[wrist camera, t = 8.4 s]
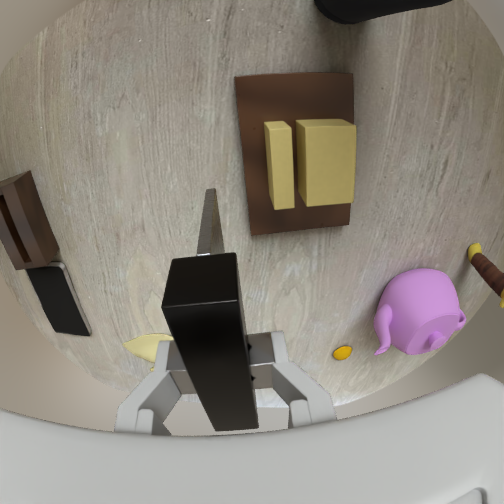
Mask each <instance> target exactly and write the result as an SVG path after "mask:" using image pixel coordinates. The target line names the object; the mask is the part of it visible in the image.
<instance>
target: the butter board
mask: <svg viewBox="0 0 504 504" xmlns="http://www.w3.org/2000/svg"><path fill="white" fill-rule="evenodd" d="M234 80H235V90H236V99H237V108H238V118H239V127H240V136H241V146H242V155H243V165H244V174H245V183H246V193H247V202H248V212H249V221H250V230H251V236H253V235H261V234H270V233H279V232H288V231H297V230H306V229H315V228H324V227H334V226H343V225H349V221H350V208H351V203H343V204H331V205H320V206H309V207H307V206H306V204H305V202H304V201H303V199H302V197H301V195H300V193H299V192H298V166H297V140H296V120H311V119H343V120H345V121H347V122H349V123H351V124H353V125H354V90H353V74H349V73H323V72H298V73H271V74H255V75H244V76H235V77H234ZM274 121H284V122H285V123H286V124H287V125H289V126H290V127H291V129H292V149H293V173H294V206H295V207H294V208H289V209H279V210H275V209H274V207H273V204H272V201H271V198H270V195H269V183H268V169H267V156H266V143H265V131H264V122H274Z"/></svg>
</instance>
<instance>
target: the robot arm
mask: <svg viewBox="0 0 504 504" xmlns="http://www.w3.org/2000/svg"><path fill="white" fill-rule="evenodd" d="M247 344H248V356H249V366H250V373H251V378H252V386H253V389H263V388H273V389H274V390H275V391H276V392H277V393H278V395H279V396H280V397H281V398H282V399H283V400H284V401H285V402H286V404H287V405H288V406H289V422H288V429H283V430H276V431H267V432H257V433H246V434H233V435H213V436H171V433H170V432H169V431H168V430H167V428H166V427H165V426H164V425H163V422H164V420H165V419H166V418H167V416H168V415H169V413H170V412H171V410H172V409H173V407H174V406H175V404H176V403H177V401H178V400H179V398H180V397H181V394H194V393H197V392H196V390H195V388H194V386H193V384H192V381H191V379H190V377H189V375H188V372H187V370H186V368H185V366H184V363H183V361H182V359H181V356H180V354H179V351H178V349H177V347H176V344H175V342H174V340H169V341H159V343H158V347H157V353H156V359H155V365H154V371H153V372H150V373H149V374H148V375H147V376H146V377H145V378H144V379H143V380H142V381H141V383H140V384H139V385H138V386H137V387H136V388H135V389H134V390H133V391H132V392H131V393H130V395H129V396H128V397H127V398H126V399H125V400H124V401H123V402H122V403H121V404H120V406H119V407H118V412H117V417H116V422H115V428H114V432H110V431H102V430H94V429H88V428H81V427H76V426H70V425H65V424H60V423H55V422H50V421H46V420H42V419H37V418H33V417H29V416H26V415H22V414H19V413H15V412H11V411H8V410H5V409H1V408H0V504H504V384H502V383H501V382H499V381H498V380H496V379H494V378H492V377H490V376H488V375H486V374H484V373H478V374H475V375H473V376H470V377H468V378H466V379H464V380H461V381H459V382H457V383H455V384H452V385H450V386H447V387H445V388H443V389H440V390H437V391H434V392H432V393H429V394H426V395H423V396H421V397H418V398H415V399H412V400H409V401H406V402H403V403H400V404H397V405H393V406H390V407H387V408H383V409H380V410H376V411H372V412H369V413H365V414H362V415H357V416H353V417H349V418H345V419H340V420H337V417H336V413H335V410H334V406H333V402H332V398H331V394H330V393H329V392H328V391H327V390H325V389H324V388H323V387H322V386H321V385H320V384H318V383H317V382H316V381H315V380H314V379H313V378H312V377H310V376H309V375H308V374H307V373H306V372H305V371H304V370H302V369H301V368H300V367H299V366H298V365H297V364H296V363H295V362H293V361H289V356H288V351H287V347H286V342H285V337H284V332H283V331H274V332H265V333H257V334H248V335H247Z"/></svg>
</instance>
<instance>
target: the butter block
mask: <svg viewBox="0 0 504 504" xmlns="http://www.w3.org/2000/svg"><path fill="white" fill-rule="evenodd" d="M296 140H297V166H298V192H299V193H300V195H301V197H302V199H303V201H304V202H305V204H306V206H307V207H309V206H320V205H331V204H343V203H353V200H354V185H355V165H356V126H355V125H353V124H351V123H349V122H347V121H345V120H343V119H311V120H296Z"/></svg>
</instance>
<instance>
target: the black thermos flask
mask: <svg viewBox="0 0 504 504" xmlns="http://www.w3.org/2000/svg"><path fill="white" fill-rule="evenodd" d="M314 1H315V4H316V6H317V7H318V9H319V10H320V12H321V13H323V14H324V15H325V16H326V17H327V18H329V19H331V20H333V21H334V22H337V23H341V24H355V23H359V22H362V21H366V20H370V19H374V18H378V17H382V16H386V15H390V14H395V13H399V12H404V11H409V10H415V9H421V8H427V7H433V6H438V5H442V4H445V3H447V2H450V1H452V0H314Z"/></svg>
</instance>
